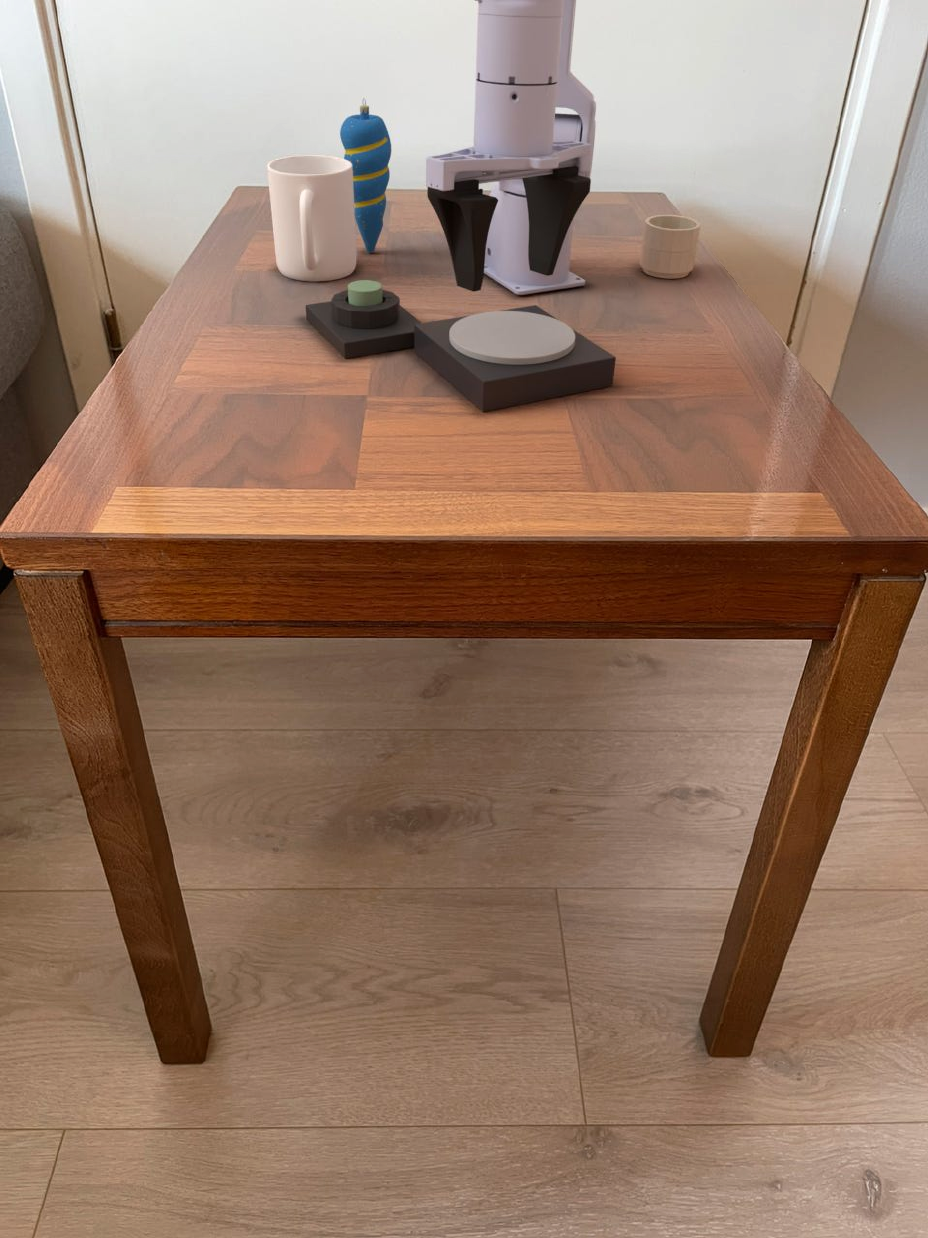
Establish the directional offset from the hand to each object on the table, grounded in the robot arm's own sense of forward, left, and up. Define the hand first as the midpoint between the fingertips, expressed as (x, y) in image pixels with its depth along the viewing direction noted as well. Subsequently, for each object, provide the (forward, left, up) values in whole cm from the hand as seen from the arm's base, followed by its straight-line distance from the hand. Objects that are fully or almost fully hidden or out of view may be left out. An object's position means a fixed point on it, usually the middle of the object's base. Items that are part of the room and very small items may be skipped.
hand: (505, 279), depth 76 cm
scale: (-1, +2, -8) cm, 8 cm away
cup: (-30, -5, -8) cm, 32 cm away
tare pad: (-14, -6, -8) cm, 17 cm away
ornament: (-35, +3, -8) cm, 37 cm away
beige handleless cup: (-17, +29, -8) cm, 35 cm away
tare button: (-14, -6, -6) cm, 16 cm away
